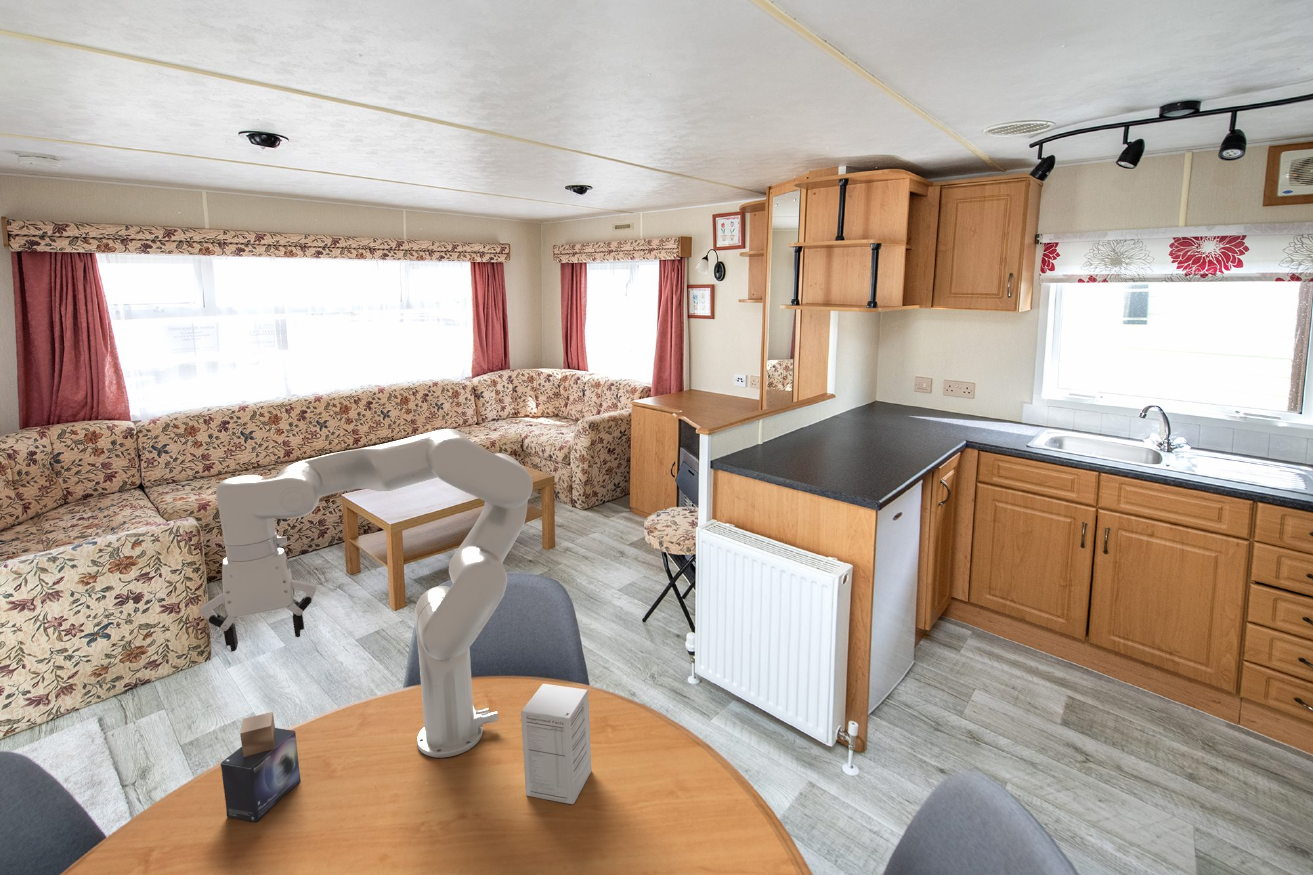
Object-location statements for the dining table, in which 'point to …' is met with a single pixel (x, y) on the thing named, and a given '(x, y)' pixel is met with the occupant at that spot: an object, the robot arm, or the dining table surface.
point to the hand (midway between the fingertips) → (267, 640)
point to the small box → (260, 777)
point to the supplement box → (556, 743)
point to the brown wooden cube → (258, 734)
